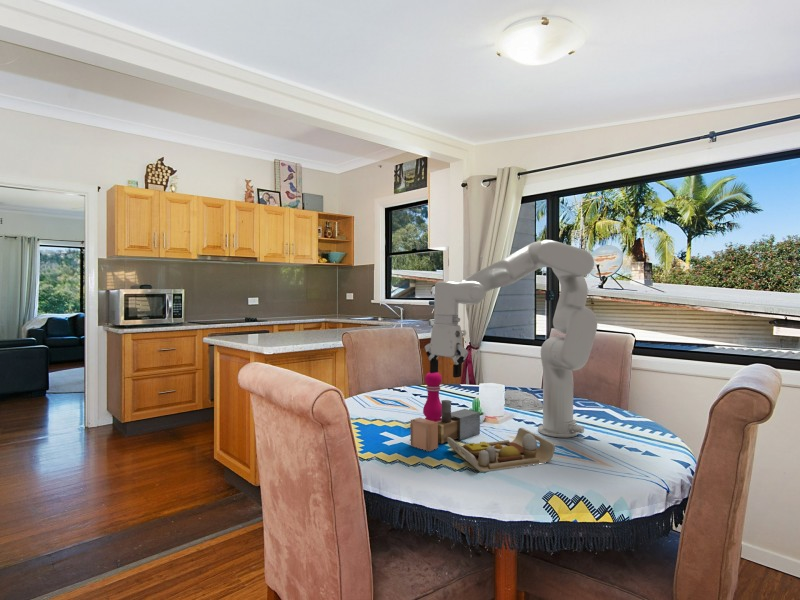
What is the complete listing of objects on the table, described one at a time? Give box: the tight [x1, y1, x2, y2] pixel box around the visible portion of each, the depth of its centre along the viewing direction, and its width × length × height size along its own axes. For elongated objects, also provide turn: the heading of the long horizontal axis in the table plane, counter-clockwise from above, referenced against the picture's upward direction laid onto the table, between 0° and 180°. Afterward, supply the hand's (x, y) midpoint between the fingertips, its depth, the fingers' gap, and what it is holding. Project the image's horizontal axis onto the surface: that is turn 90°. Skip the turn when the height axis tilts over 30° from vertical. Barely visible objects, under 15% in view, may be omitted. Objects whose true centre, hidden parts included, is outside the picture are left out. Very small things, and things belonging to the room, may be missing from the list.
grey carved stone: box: [504, 389, 543, 412], centre depth 196 cm, size 16×25×7 cm, turn 37°
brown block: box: [410, 417, 439, 452], centre depth 143 cm, size 8×4×8 cm, turn 43°
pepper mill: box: [422, 371, 443, 422], centre depth 167 cm, size 7×7×20 cm
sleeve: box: [451, 408, 481, 441], centre depth 155 cm, size 6×10×7 cm, turn 133°
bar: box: [437, 399, 458, 444], centre depth 152 cm, size 4×16×12 cm, turn 133°
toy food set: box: [447, 427, 556, 473], centre depth 135 cm, size 25×18×8 cm
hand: (445, 374), depth 149 cm, fingers open, 9 cm apart
